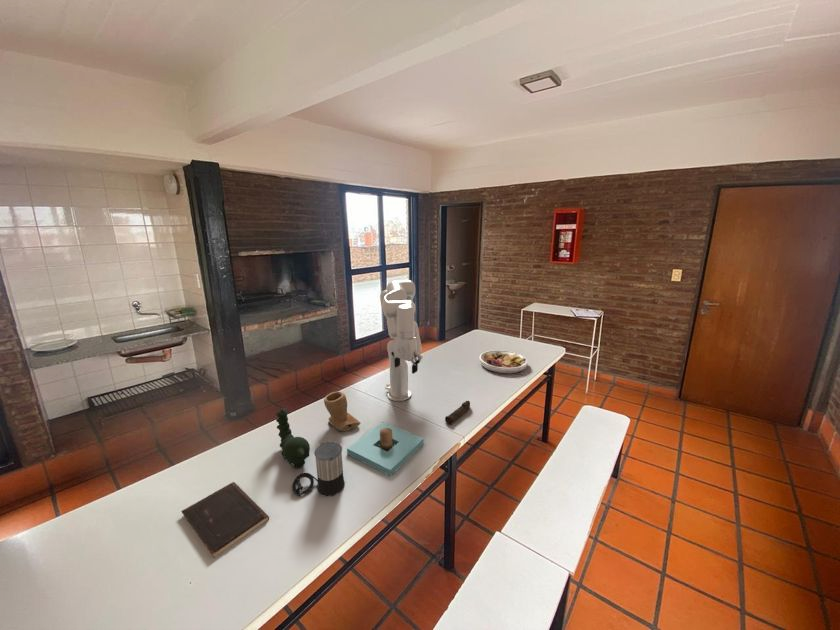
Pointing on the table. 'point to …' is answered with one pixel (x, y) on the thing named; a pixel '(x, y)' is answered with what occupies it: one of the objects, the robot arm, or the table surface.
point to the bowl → (503, 361)
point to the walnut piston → (386, 439)
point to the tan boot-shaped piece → (339, 411)
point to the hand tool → (457, 413)
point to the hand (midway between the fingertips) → (405, 369)
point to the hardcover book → (224, 517)
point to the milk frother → (324, 471)
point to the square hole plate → (380, 458)
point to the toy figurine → (291, 442)
